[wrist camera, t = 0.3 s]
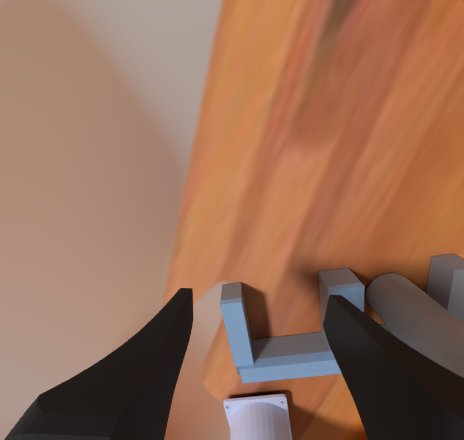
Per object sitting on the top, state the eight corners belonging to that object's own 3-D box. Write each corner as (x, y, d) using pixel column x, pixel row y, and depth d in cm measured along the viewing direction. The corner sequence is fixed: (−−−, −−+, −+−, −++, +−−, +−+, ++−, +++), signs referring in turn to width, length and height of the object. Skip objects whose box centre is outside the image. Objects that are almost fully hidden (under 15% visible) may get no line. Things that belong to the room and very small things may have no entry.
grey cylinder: (360, 281, 23) (447, 382, 14) (404, 265, 23) (530, 360, 13) (371, 313, 25) (457, 426, 15) (413, 299, 24) (533, 408, 14)
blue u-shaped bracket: (359, 361, 24) (364, 371, 23) (237, 374, 25) (237, 383, 24) (361, 282, 20) (366, 289, 20) (220, 300, 21) (219, 307, 21)
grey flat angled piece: (439, 331, 25) (460, 351, 23) (237, 354, 27) (237, 374, 25) (452, 253, 22) (478, 267, 20) (222, 284, 24) (220, 300, 21)
